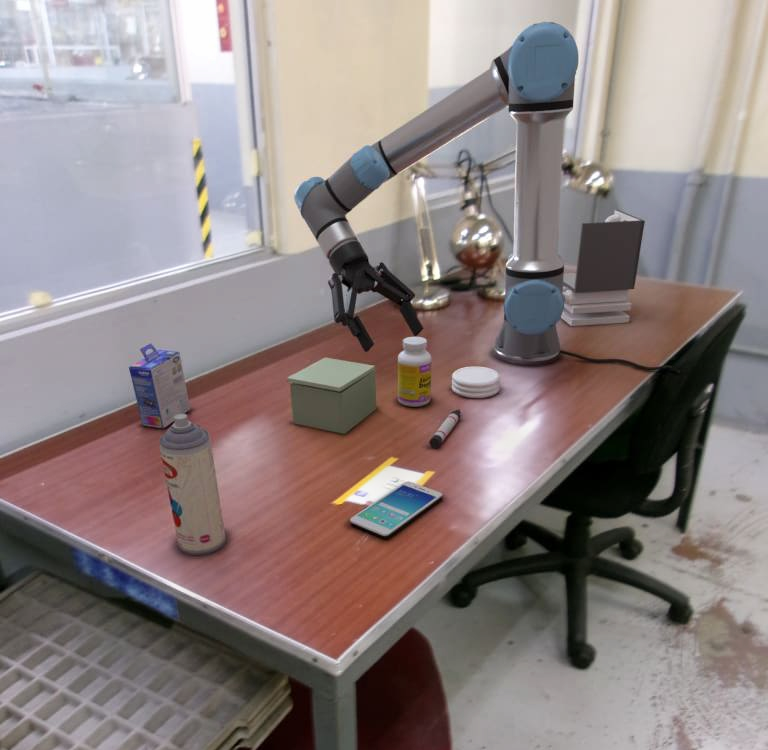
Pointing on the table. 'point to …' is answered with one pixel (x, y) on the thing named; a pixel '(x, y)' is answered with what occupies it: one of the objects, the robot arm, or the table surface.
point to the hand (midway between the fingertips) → (395, 340)
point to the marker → (445, 429)
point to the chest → (334, 405)
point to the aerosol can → (192, 487)
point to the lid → (331, 374)
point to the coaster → (475, 382)
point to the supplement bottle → (414, 373)
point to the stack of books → (603, 271)
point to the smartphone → (396, 509)
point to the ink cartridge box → (159, 387)
